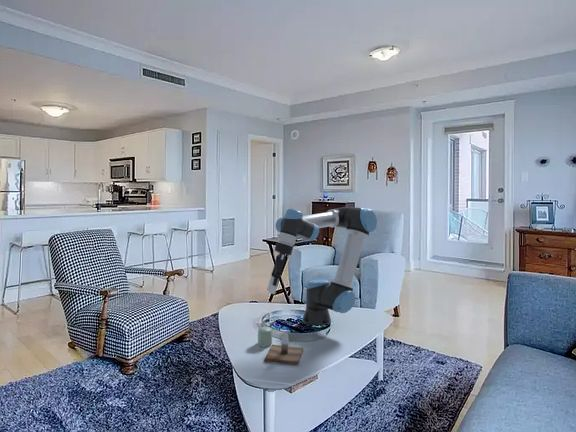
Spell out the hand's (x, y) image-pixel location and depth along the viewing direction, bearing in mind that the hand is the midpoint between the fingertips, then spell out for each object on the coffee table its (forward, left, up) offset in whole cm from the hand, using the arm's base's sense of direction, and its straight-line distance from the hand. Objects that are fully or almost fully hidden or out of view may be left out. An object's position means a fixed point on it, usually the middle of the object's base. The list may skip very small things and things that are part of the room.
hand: (270, 292), depth 171 cm
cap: (-10, -4, -27) cm, 29 cm away
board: (0, +7, -27) cm, 28 cm away
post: (0, +7, -26) cm, 27 cm away
